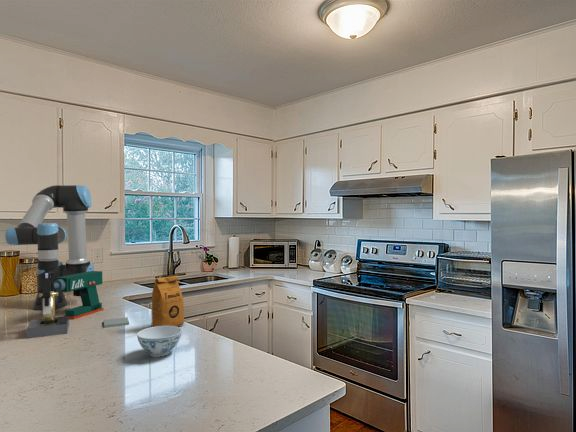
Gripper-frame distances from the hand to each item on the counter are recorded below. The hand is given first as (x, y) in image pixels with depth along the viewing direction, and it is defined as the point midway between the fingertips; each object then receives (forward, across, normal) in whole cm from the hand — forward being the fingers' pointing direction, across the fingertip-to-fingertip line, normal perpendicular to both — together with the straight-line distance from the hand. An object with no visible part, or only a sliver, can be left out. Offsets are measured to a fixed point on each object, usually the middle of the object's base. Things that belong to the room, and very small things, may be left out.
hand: (48, 310), depth 167 cm
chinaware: (+9, +49, +38) cm, 63 cm away
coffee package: (+9, +17, +46) cm, 50 cm away
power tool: (+9, -20, +8) cm, 24 cm away
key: (+9, 0, 0) cm, 9 cm away
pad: (+9, 0, +26) cm, 27 cm away
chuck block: (+9, 0, 0) cm, 9 cm away
